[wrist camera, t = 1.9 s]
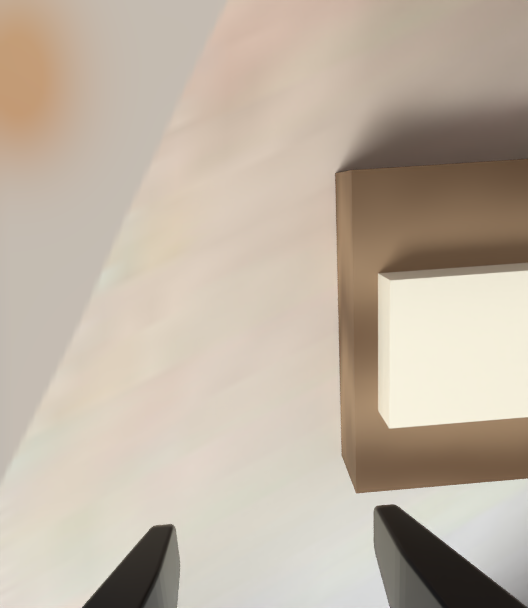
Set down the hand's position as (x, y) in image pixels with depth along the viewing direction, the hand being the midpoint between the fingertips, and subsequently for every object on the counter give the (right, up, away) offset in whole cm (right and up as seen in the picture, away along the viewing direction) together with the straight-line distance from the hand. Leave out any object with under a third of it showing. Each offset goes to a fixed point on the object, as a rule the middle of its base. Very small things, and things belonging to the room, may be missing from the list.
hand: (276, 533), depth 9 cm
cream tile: (+8, +3, +10) cm, 13 cm away
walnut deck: (+9, +4, +13) cm, 16 cm away
